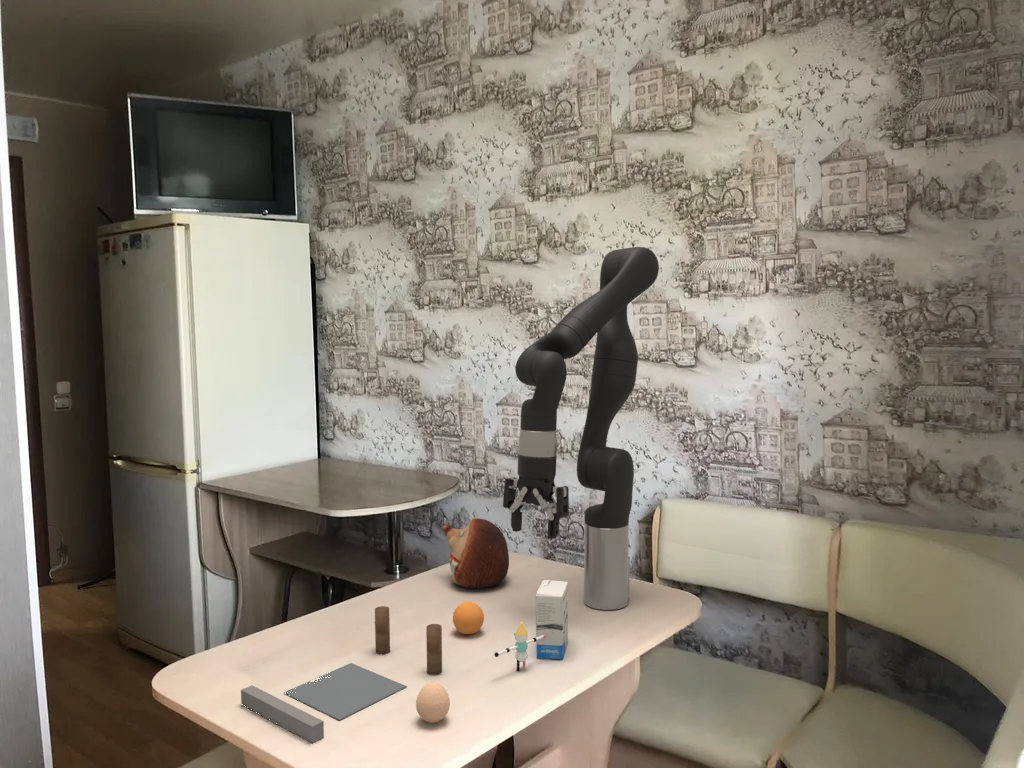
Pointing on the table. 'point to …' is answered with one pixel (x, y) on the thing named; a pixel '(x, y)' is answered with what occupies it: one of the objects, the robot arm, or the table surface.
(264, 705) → the wall
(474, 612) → the ball
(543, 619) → the ink box
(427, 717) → the egg
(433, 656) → the post
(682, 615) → the table surface
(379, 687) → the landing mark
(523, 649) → the toy figure
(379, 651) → the post
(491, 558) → the figurine
